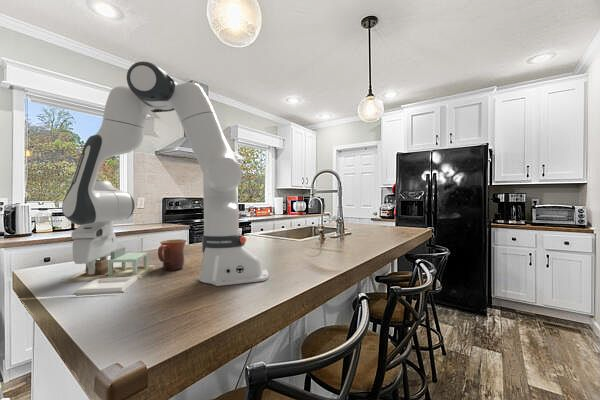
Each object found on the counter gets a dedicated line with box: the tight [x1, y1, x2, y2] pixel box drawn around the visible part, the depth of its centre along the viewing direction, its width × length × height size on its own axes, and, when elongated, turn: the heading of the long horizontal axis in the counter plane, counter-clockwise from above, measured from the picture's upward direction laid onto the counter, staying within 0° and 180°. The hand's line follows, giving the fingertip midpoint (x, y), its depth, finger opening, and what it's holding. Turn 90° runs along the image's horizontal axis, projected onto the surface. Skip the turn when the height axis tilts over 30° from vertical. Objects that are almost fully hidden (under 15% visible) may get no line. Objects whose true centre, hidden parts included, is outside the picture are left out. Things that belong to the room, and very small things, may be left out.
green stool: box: [107, 246, 149, 276], centre depth 94 cm, size 8×11×8 cm
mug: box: [157, 238, 187, 272], centre depth 101 cm, size 12×9×10 cm
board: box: [60, 264, 156, 283], centre depth 93 cm, size 22×14×1 cm, turn 101°
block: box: [85, 259, 109, 276], centre depth 92 cm, size 4×4×4 cm
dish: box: [75, 276, 138, 297], centre depth 80 cm, size 11×11×2 cm
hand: (97, 271), depth 92 cm, fingers closed on block, 4 cm apart
